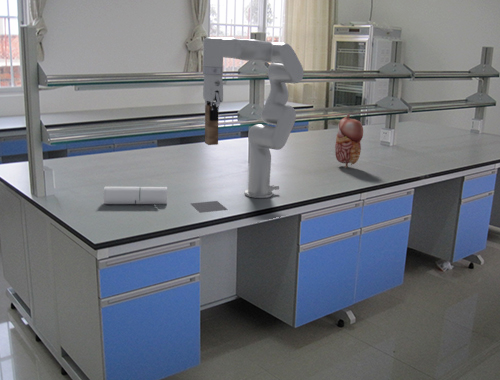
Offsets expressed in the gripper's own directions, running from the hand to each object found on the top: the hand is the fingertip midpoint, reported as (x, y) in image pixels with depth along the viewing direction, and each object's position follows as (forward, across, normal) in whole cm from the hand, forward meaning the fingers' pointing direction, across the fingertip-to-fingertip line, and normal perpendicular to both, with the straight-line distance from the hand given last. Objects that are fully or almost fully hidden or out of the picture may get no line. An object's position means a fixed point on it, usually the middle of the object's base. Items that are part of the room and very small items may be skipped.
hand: (211, 119), depth 203 cm
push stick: (+10, 0, 0) cm, 10 cm away
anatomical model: (+37, +44, -98) cm, 114 cm away
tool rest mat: (+37, +1, 0) cm, 37 cm away
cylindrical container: (+33, +11, +14) cm, 38 cm away
